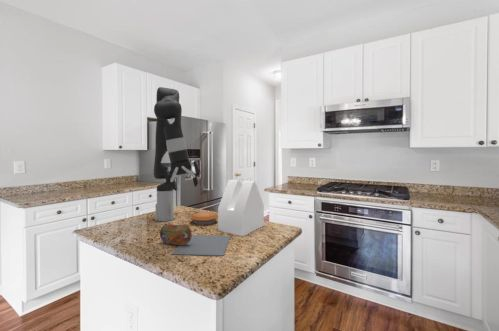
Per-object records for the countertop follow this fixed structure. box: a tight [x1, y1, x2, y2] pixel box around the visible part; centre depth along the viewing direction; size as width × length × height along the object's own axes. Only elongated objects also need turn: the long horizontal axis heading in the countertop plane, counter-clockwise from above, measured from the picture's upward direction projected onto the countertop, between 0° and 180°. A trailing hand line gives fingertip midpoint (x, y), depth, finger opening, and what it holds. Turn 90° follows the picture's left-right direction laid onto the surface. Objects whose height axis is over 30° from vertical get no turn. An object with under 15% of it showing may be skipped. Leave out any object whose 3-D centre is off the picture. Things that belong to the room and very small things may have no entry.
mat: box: [171, 234, 232, 257], centre depth 104 cm, size 20×22×1 cm
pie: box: [189, 211, 218, 226], centre depth 138 cm, size 15×16×5 cm
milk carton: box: [217, 179, 265, 237], centre depth 126 cm, size 19×15×25 cm
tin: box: [159, 223, 193, 246], centre depth 104 cm, size 15×3×8 cm, turn 68°
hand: (186, 188), depth 101 cm, fingers open, 8 cm apart
